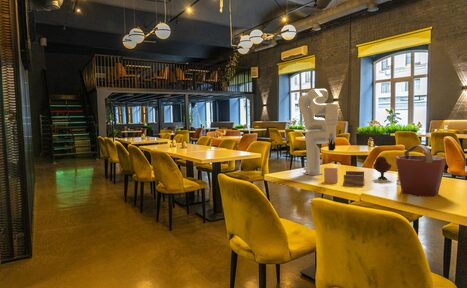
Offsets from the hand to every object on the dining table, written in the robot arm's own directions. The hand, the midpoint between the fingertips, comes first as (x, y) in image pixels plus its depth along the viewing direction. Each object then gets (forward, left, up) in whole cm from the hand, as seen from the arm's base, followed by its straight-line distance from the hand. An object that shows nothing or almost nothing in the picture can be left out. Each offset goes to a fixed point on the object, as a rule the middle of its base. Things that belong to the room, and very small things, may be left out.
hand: (331, 149), depth 204 cm
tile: (-1, 0, -20) cm, 21 cm away
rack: (+11, +7, -20) cm, 24 cm away
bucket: (+50, +6, -21) cm, 55 cm away
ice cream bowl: (+16, +31, -21) cm, 40 cm away
